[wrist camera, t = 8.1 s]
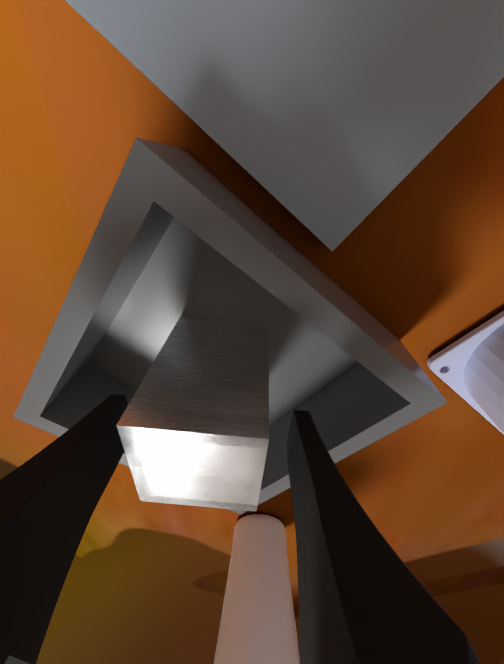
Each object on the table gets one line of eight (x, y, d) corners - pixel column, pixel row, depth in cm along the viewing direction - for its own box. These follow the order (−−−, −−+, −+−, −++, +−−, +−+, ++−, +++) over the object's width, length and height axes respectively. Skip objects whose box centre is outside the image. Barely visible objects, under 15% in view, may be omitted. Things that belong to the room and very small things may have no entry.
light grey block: (268, 321, 14) (269, 439, 8) (260, 385, 16) (256, 511, 10) (181, 314, 14) (116, 425, 8) (186, 378, 16) (140, 500, 10)
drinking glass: (215, 522, 28) (172, 818, 15) (256, 500, 25) (245, 845, 12) (263, 542, 30) (259, 816, 17) (306, 524, 27) (340, 839, 14)
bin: (400, 340, 14) (447, 402, 11) (245, 450, 21) (240, 514, 17) (185, 148, 10) (136, 137, 6) (71, 359, 16) (12, 417, 13)
